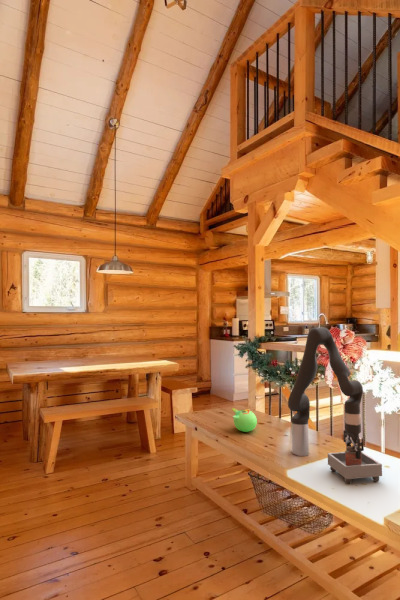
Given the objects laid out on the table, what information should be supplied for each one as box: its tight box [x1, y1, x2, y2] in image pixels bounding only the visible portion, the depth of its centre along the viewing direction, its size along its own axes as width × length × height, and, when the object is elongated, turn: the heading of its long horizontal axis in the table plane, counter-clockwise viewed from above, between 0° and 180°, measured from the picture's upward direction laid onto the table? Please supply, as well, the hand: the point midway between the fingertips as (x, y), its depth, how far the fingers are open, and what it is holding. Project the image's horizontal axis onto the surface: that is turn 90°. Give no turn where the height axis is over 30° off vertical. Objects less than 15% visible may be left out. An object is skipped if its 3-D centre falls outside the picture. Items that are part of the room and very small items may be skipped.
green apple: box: [231, 407, 258, 433], centre depth 265 cm, size 18×17×15 cm
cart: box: [327, 451, 383, 485], centre depth 190 cm, size 18×18×8 cm
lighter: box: [344, 445, 363, 466], centre depth 191 cm, size 8×3×10 cm, turn 96°
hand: (353, 455), depth 190 cm, fingers open, 8 cm apart
